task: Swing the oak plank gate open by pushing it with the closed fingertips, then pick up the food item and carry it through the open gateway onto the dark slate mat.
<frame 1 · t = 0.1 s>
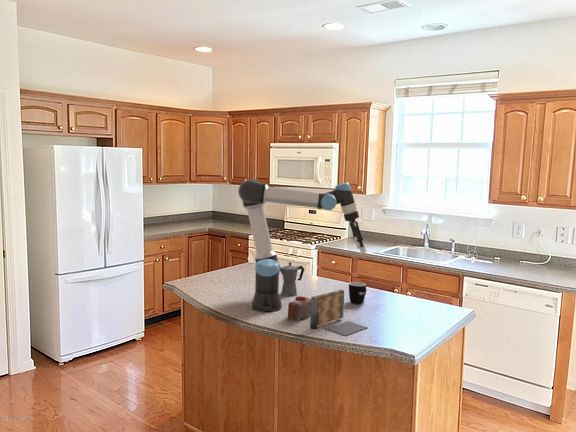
hand: (361, 250, 244), 28 cm above the table, tool tilted 20°, fingers open, 13 cm apart
mat: (347, 328, 206), on the table
gate: (330, 307, 212), point 8 cm above the table, hinge at 0.0°
food item: (300, 317, 221), on the table
gate post: (313, 328, 206), on the table
mug: (358, 302, 247), on the table
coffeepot: (290, 294, 260), on the table
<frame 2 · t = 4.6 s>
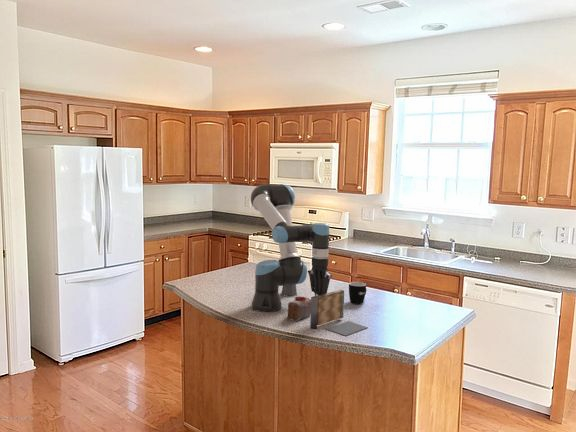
hand: (318, 307, 214), 7 cm above the table, tool pointing down, fingers closed
gate: (330, 307, 212), point 8 cm above the table, hinge at 0.0°, touching gripper
everything else where it was.
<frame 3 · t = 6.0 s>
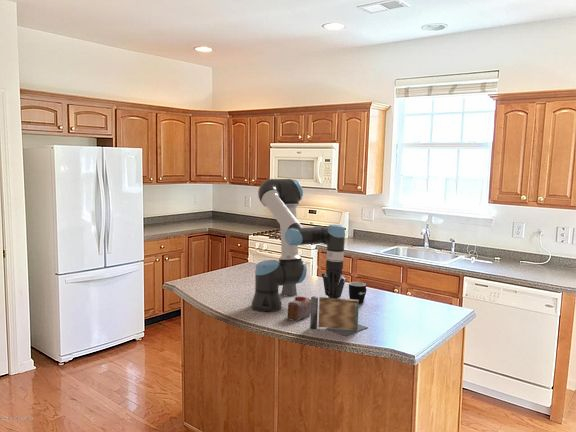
hand: (332, 312, 207), 7 cm above the table, tool pointing down, fingers closed
gate: (338, 313, 203), point 8 cm above the table, hinge at -53.3°, touching gripper, hand
everything else where it was.
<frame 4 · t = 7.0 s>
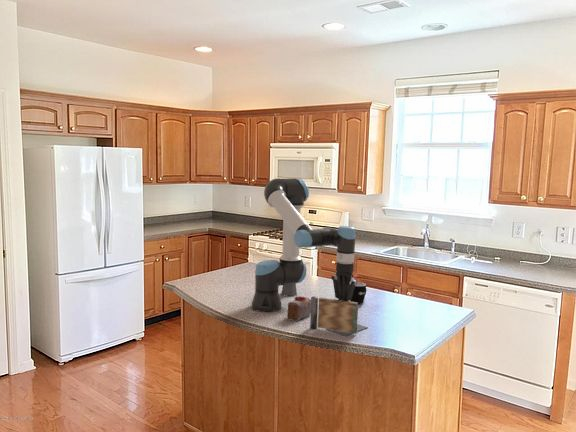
hand: (342, 315, 203), 7 cm above the table, tool pointing down, fingers closed
gate: (337, 315, 201), point 8 cm above the table, hinge at -66.3°, touching gripper, hand
everything else where it was.
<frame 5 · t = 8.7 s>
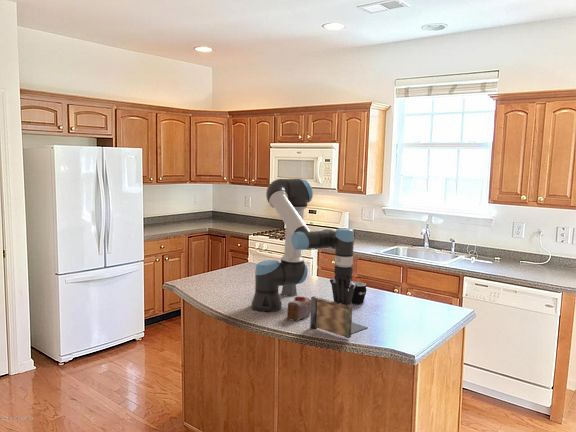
hand: (341, 319, 198), 7 cm above the table, tool pointing down, fingers closed
gate: (333, 317, 198), point 8 cm above the table, hinge at -86.4°, touching gripper
everything else where it was.
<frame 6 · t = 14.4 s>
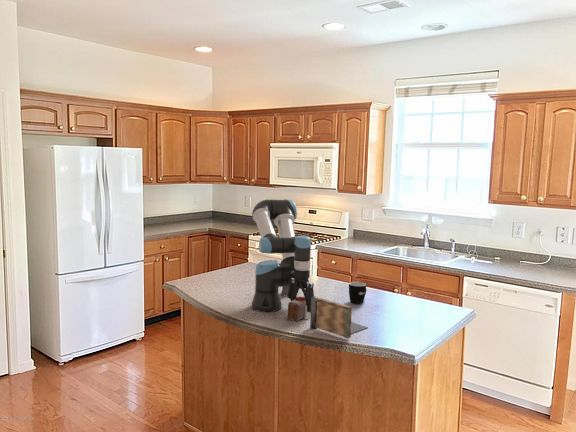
hand: (300, 315, 221), 0 cm above the table, tool pointing down, fingers closed on food item, 8 cm apart
gate: (333, 317, 197), point 8 cm above the table, hinge at -87.5°
food item: (299, 317, 221), on the table, touching gripper
everything else where it was.
when the fingers open (2 cm above the table, at t = 21.7 s): food item drops 2 cm, resting on mat.
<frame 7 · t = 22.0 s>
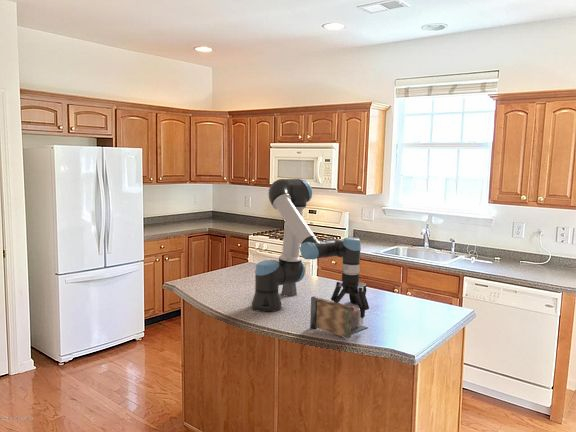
hand: (348, 320, 206), 3 cm above the table, tool pointing down, fingers open, 12 cm apart
food item: (347, 328, 206), resting on mat
everything else where it was.
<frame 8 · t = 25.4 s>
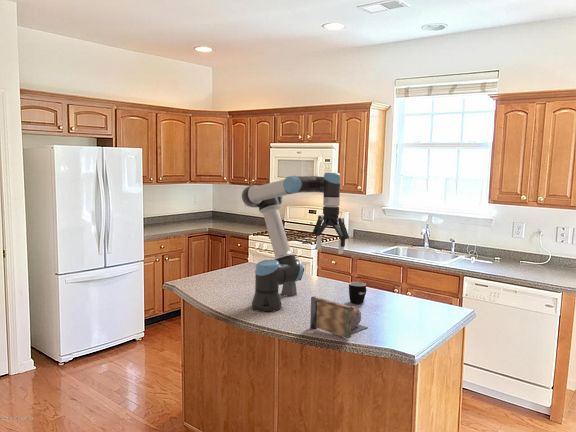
hand: (329, 251, 218), 32 cm above the table, tool pointing down, fingers open, 13 cm apart
nothing on the table moved.
at the end: gate at -88° (first picture: +0°); food item inside the target area on the mat (0.3 cm from its centre), point 0.2 cm above the mat's base; food item tilted 0° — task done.
